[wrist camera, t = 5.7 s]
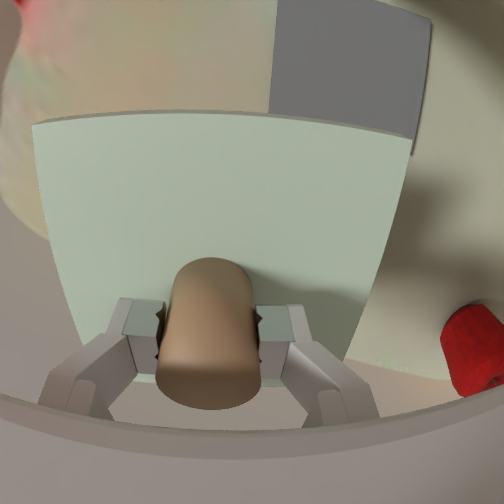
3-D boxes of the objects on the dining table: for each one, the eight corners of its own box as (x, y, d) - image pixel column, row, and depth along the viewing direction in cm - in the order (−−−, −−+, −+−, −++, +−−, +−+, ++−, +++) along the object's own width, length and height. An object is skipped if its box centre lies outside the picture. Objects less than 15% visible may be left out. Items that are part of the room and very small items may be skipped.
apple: (470, 279, 34) (522, 355, 23) (494, 304, 38) (536, 369, 26) (417, 332, 39) (453, 412, 28) (447, 348, 42) (479, 416, 31)
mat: (427, 20, 18) (431, 19, 18) (408, 152, 25) (411, 154, 25) (279, -17, 17) (280, -19, 17) (266, 133, 24) (267, 135, 24)
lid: (398, 133, 9) (496, 186, 5) (328, 368, 16) (350, 451, 11) (46, 119, 8) (-54, 165, 4) (100, 361, 15) (77, 443, 10)
